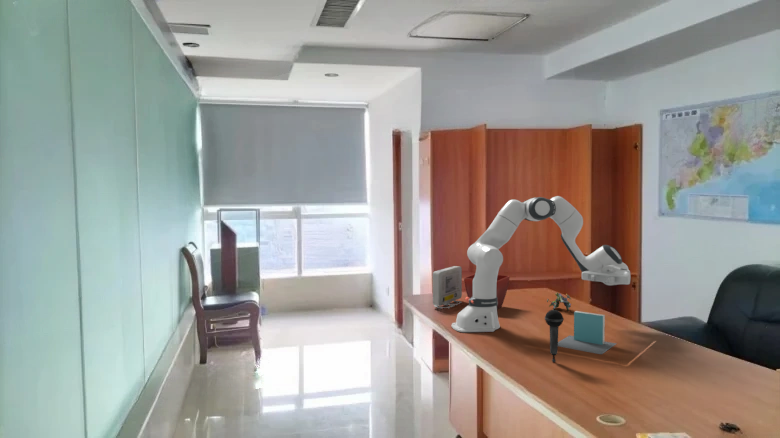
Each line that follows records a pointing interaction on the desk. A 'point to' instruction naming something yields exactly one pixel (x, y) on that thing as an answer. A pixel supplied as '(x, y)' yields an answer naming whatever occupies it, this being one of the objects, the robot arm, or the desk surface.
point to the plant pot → (500, 290)
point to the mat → (585, 345)
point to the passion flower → (560, 299)
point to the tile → (589, 327)
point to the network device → (447, 286)
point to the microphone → (554, 329)
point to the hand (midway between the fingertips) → (599, 279)
